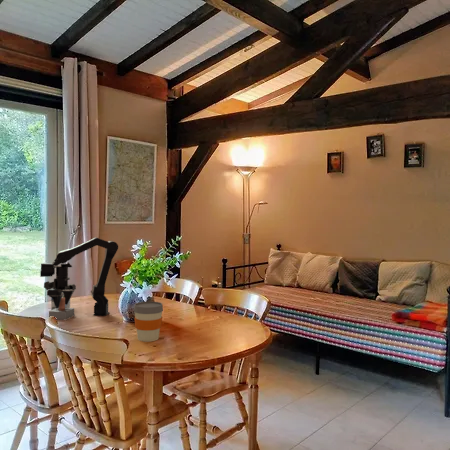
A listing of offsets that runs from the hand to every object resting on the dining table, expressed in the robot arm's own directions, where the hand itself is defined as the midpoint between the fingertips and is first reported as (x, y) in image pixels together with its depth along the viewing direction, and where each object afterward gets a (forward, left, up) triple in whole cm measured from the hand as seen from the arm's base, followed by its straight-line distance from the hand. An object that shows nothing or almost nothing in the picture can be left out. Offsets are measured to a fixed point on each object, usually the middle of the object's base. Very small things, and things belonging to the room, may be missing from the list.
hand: (61, 306), depth 223 cm
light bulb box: (+8, -14, -6) cm, 17 cm away
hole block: (0, 0, -6) cm, 6 cm away
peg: (0, 0, -6) cm, 6 cm away
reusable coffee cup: (-54, +26, -6) cm, 60 cm away
